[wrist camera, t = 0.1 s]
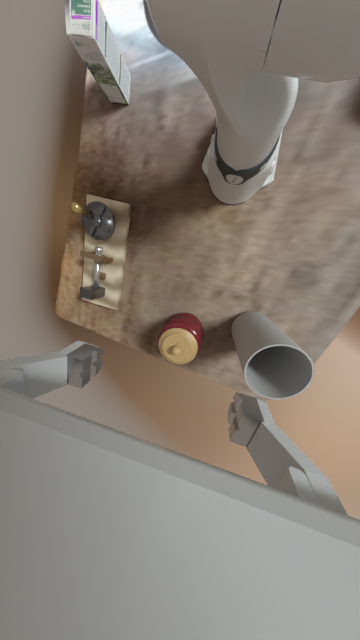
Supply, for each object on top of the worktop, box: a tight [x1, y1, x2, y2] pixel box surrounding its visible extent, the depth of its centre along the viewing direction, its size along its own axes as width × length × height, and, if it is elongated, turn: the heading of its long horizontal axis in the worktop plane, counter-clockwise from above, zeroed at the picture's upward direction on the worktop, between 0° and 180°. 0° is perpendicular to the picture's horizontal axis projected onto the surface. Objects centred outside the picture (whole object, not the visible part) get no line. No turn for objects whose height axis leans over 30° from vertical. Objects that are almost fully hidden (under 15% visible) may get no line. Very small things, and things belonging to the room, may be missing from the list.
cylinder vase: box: [231, 311, 314, 399], centre depth 45 cm, size 12×12×25 cm
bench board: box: [82, 194, 131, 310], centre depth 56 cm, size 34×14×4 cm, turn 166°
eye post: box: [80, 251, 113, 262], centre depth 54 cm, size 1×7×6 cm, turn 76°
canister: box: [158, 313, 203, 364], centre depth 52 cm, size 13×13×18 cm
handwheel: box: [70, 201, 115, 240], centre depth 47 cm, size 10×10×6 cm
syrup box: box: [65, 0, 131, 104], centre depth 37 cm, size 6×6×14 cm
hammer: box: [80, 246, 105, 300], centre depth 54 cm, size 17×4×7 cm, turn 166°
